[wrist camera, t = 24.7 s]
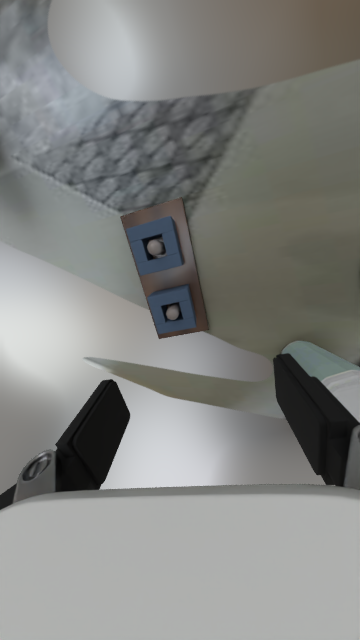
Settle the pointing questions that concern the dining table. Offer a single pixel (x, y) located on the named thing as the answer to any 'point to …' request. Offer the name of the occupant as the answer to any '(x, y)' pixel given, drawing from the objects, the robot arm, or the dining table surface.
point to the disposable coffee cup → (330, 373)
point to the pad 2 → (159, 309)
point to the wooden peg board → (172, 275)
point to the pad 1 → (151, 231)
